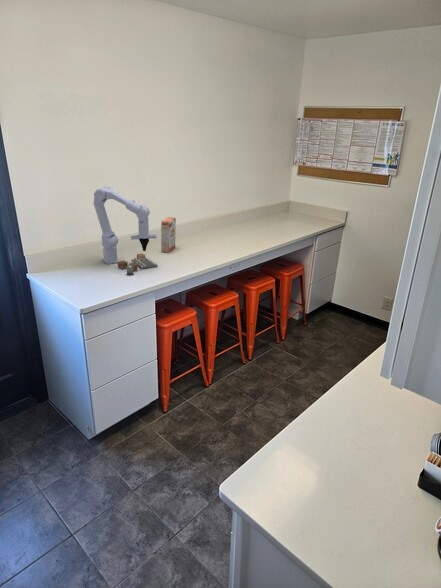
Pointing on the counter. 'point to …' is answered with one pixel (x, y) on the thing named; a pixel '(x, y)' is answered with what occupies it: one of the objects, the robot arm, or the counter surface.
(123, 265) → the walnut block
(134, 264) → the walnut block
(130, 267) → the metal peg
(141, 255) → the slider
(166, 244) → the cracker box
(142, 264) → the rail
